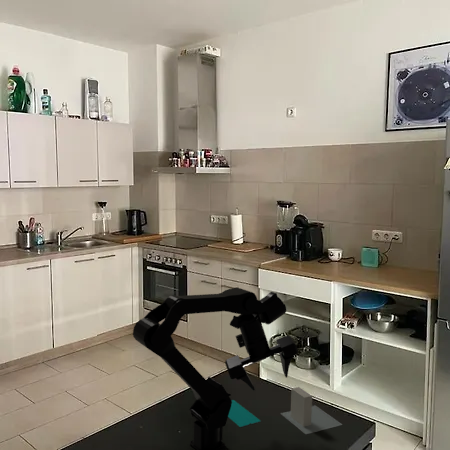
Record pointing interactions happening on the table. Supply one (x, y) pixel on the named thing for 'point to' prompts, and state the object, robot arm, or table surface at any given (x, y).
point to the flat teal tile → (241, 415)
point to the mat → (314, 421)
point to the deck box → (301, 406)
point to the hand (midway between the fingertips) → (270, 383)
